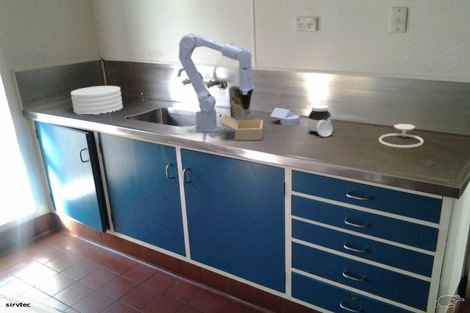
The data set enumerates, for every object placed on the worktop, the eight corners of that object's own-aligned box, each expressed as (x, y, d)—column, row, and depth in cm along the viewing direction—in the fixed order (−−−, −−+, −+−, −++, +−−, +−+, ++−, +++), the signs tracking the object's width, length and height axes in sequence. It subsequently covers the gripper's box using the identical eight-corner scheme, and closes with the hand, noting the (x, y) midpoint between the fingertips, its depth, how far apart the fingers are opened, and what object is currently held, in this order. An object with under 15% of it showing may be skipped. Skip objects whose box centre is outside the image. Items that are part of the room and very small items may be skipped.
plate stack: (63, 112, 256) (60, 93, 252) (100, 102, 278) (97, 84, 274) (96, 116, 242) (93, 96, 238) (132, 106, 264) (130, 87, 260)
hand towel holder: (375, 135, 171) (385, 122, 188) (374, 146, 172) (384, 132, 189) (421, 139, 163) (427, 125, 180) (420, 150, 165) (426, 135, 181)
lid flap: (234, 128, 186) (233, 129, 186) (237, 120, 199) (236, 121, 199) (221, 122, 185) (221, 123, 185) (225, 114, 199) (225, 115, 199)
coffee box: (251, 117, 223) (250, 86, 218) (247, 120, 218) (245, 88, 212) (234, 116, 227) (233, 85, 221) (230, 119, 221) (228, 88, 216)
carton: (235, 140, 186) (234, 129, 185) (238, 130, 201) (238, 120, 200) (261, 140, 185) (261, 129, 184) (263, 130, 200) (263, 119, 198)
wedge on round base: (270, 123, 211) (292, 127, 203) (269, 109, 209) (292, 112, 201) (281, 119, 217) (303, 122, 209) (281, 105, 215) (303, 109, 207)
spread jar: (318, 128, 198) (319, 103, 195) (340, 132, 191) (341, 106, 187) (302, 134, 191) (302, 108, 187) (324, 139, 183) (325, 112, 179)
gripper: (253, 79, 188) (254, 110, 192) (255, 74, 201) (256, 103, 206) (237, 80, 188) (238, 111, 193) (240, 74, 202) (241, 103, 206)
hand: (246, 107), depth 199 cm, fingers open, 7 cm apart
